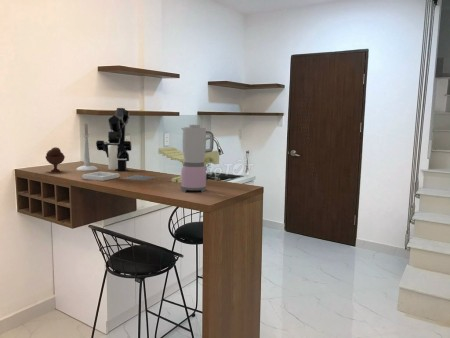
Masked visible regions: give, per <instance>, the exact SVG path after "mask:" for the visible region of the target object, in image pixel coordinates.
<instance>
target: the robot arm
mask: <svg viewBox="0 0 450 338" xmlns="http://www.w3.org/2000/svg"><path fill="white" fill-rule="evenodd" d="M114 113H115V114H114V115H112V116H111V117H109V119H108V126H109V130H110V131H108V133H107V134H108V135H107V138H108V140H107V141H108V142H107V141H105V140H96V142H95V146H96V149H97V150H98V151H103V152H105V155H106V158H108V145H118V154H117V158H118V169H114V171H118V172H125V171H129V169H128V168H127V162H130V156H129V155H130V153H129V152H130V151H132V148H133V147H132V142H131V140H126V126H127V125H128V124H129V119H130V112H129V110H127V109H125V108H124V107H117V108H116V109H115V112H114Z"/></svg>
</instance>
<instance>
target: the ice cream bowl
mask: <svg viewBox="0 0 450 338" xmlns="http://www.w3.org/2000/svg"><path fill="white" fill-rule="evenodd" d="M65 159H66V156H65V155H64V153H63V152H62V151H61V149H60V148H59V147H52V148H51V149H50V150H48V151H46V155H45V160H46V161H47V163H48V164H50V165H53V169H51V170H50V172H51V173H59V172H61V170H60V169H58V165H60V164H61V163H63V162H64V160H65Z"/></svg>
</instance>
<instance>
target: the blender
mask: <svg viewBox="0 0 450 338" xmlns="http://www.w3.org/2000/svg"><path fill="white" fill-rule="evenodd" d="M181 130H182V144H181V145H182V153H183V156H184V165H183V164H182V167H181V171H180V176H181V183H180V189H181V191H182V192H183V193H186V192H187V191H200V192H201V193H204V192H205V190H206V189H207V180H209V173H207V169H206V167H205V166H204V157H205V153H207V152H211V151H214V139H215V136H214V133H213V132H212V131H208V130H207V129H206V127H201V125H200V124H189V126H188V127H187V126H185V127H181ZM207 135H208V136H210V137H209V148H207Z"/></svg>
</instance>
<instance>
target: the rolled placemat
mask: <svg viewBox="0 0 450 338" xmlns="http://www.w3.org/2000/svg"><path fill="white" fill-rule="evenodd" d="M117 154H118V145H108V159H107V160H108V162H107V163H108V167H107V168H108V170H115V169H118V158H117Z"/></svg>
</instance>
